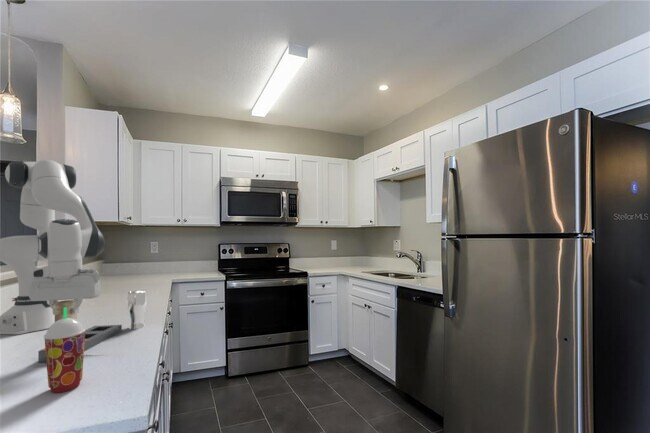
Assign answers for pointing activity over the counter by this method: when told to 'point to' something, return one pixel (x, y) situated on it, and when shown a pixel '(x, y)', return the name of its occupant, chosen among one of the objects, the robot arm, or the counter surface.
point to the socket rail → (91, 338)
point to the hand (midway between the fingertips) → (65, 313)
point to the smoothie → (64, 354)
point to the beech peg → (60, 309)
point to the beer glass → (136, 308)
